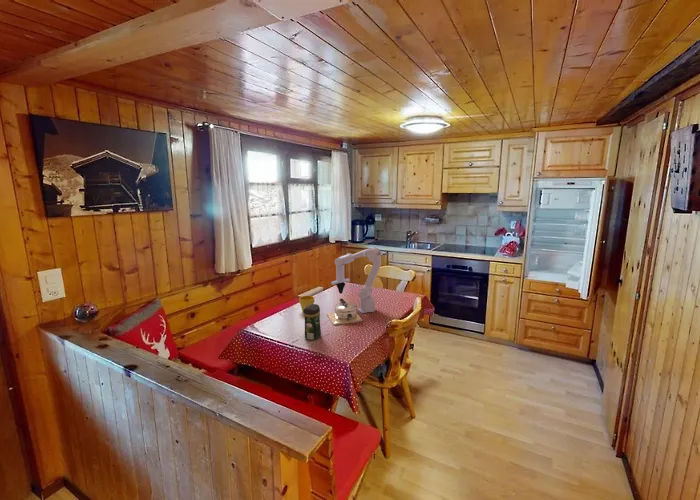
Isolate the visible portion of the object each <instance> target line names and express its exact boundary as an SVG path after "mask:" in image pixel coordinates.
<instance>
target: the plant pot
mask: <svg viewBox="0 0 700 500" xmlns="http://www.w3.org/2000/svg"><path fill="white" fill-rule="evenodd" d="M298 301H299V304H300V307H301V311H302V313H303V314H304V308H306V307H307V306H309V305H311V304H315V296H314V295H309V294H308V295H302V296H300V297H299V298H298Z"/></svg>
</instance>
